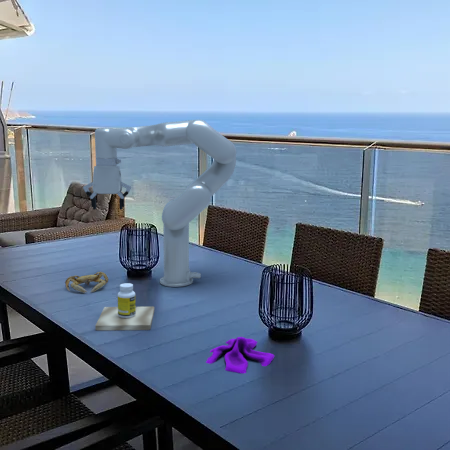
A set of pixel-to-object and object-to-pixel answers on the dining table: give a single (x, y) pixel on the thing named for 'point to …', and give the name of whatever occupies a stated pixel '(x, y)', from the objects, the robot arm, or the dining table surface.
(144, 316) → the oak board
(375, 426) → the dining table surface
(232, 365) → the cloth
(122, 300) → the supplement bottle
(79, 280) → the crab model
